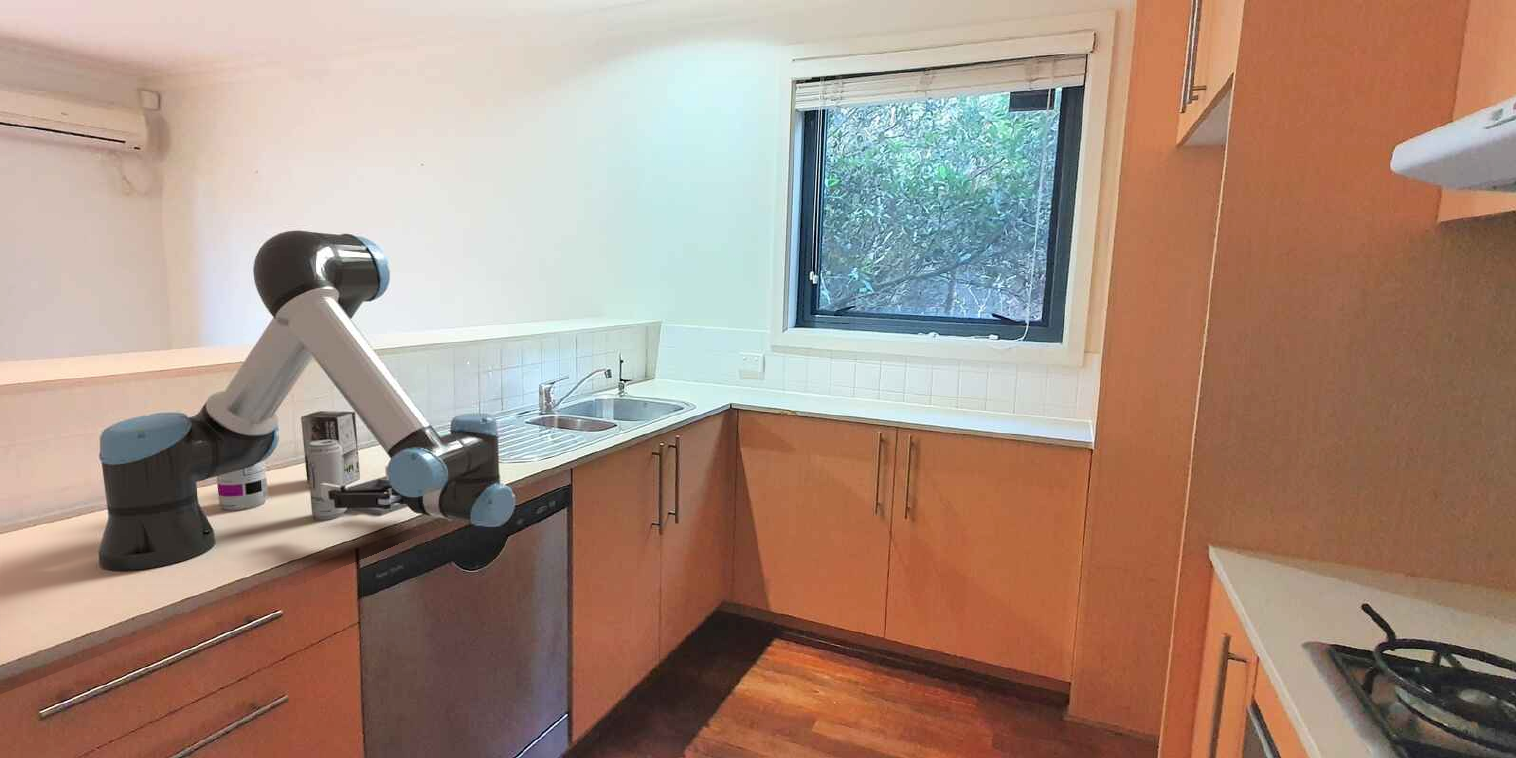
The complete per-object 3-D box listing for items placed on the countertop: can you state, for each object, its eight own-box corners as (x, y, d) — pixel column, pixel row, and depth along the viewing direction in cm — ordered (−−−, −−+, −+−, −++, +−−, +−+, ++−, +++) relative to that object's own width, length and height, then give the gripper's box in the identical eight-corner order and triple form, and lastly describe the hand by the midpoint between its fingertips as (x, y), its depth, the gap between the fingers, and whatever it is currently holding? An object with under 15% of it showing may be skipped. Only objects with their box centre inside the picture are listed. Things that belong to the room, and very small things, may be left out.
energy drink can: (307, 515, 139) (301, 442, 137) (340, 508, 144) (335, 437, 142) (318, 522, 135) (312, 447, 133) (352, 515, 140) (346, 442, 138)
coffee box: (361, 478, 165) (356, 411, 163) (342, 486, 159) (337, 416, 156) (325, 477, 166) (320, 410, 164) (305, 484, 160) (299, 415, 157)
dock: (381, 515, 140) (380, 498, 140) (337, 506, 145) (335, 490, 145) (456, 489, 158) (455, 474, 157) (414, 482, 163) (413, 467, 162)
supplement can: (220, 514, 140) (213, 441, 138) (218, 503, 146) (211, 433, 144) (270, 506, 145) (263, 435, 143) (266, 496, 151) (259, 428, 149)
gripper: (377, 537, 116) (293, 519, 125) (489, 496, 139) (412, 482, 147) (374, 494, 115) (290, 478, 124) (487, 459, 138) (410, 447, 146)
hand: (356, 480), depth 135 cm, fingers open, 13 cm apart
